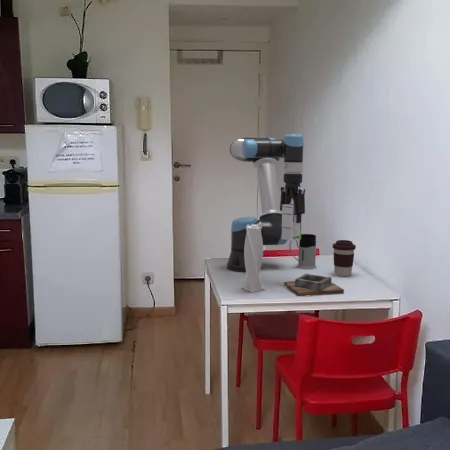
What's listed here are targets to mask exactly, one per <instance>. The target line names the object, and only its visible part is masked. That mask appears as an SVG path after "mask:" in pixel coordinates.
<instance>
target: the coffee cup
mask: <svg viewBox="0 0 450 450" xmlns="http://www.w3.org/2000/svg"><path fill="white" fill-rule="evenodd" d="M332 248H333V265H334V266H333V268H334V271H333V272H334V275H335V276H339V277H349V276H351V275H352V273H353V272H352V271H353V265H354V259H355V250H356V248H357V247H356V244H354V243H353V241H352V240H348V239H340V240H339V239H338V240H336V242H335V243H333V244H332Z"/></svg>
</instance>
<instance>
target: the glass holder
mask: <svg viewBox="0 0 450 450" xmlns="http://www.w3.org/2000/svg"><path fill="white" fill-rule="evenodd" d="M295 241H296V247H297V249H298V258H297V257H296V256H295V255H294V253H293V251H292V248H291V244H292V242H293V241H289V244H288V245H289V246H288V247H289V248H288V249H289V251H290V254H291V256H292V257H293V258H294V259H295V260H296V261H297V268H298V269H301V270H314V269H313V268H315V269H317V266H316V257H317V255H316V253H317V235H316V234H313V233H311V234H310V233H301V239H300V240H295Z"/></svg>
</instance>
